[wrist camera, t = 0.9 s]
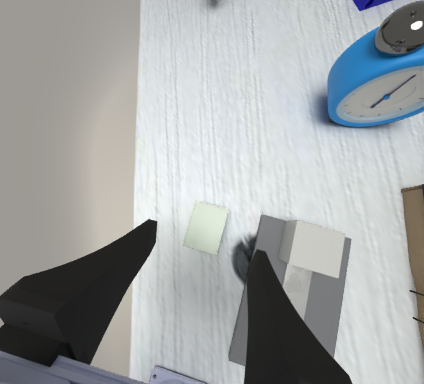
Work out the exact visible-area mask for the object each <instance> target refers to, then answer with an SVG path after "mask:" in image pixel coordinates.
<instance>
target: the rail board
mask: <svg viewBox="0 0 424 384" xmlns="http://www.w3.org/2000/svg"><path fill="white" fill-rule="evenodd" d="M285 224H286V221H284V220H281V219H277V218H273V217H270V216H266V215H261V219H260V223H259V227H258V232H257V236H256V240H255V245H254V249H253V253H252V257H251V260H252V258H253V256H254V254H255V252H256V250H257V249H259V250H262V251H266V253H267V256H268V258H269V260H270V262H271V265H272V267H273V269H274V271H275V273H276V275H277V277H278V279H279V281H280V283H281V285H282V287H283V289H284V291H285V293H286V294H287V296H288V298H289V300H290V301H291V303H292V304H293V306H294V308H295V309H296V311H297V312H298V314H299V315H300V317H301V318H302V320H303V321H304V322H305V324H306V325H307V326H308V328H309V329H310V330H311V332H312V333H313V334H314V336H315V337H316V338H317V339H318V341H319V342H320V343H321V344H322V346H323V347H324V348H325V349H326V350H327V352H328V353H329V354H330V355H331V356H332V357H333V359H334V353H335V346H336V340H337V333H338V326H339V320H340V313H341V306H342V299H343V293H344V286H345V279H346V272H347V266H348V259H349V252H350V245H351V239H350V238H347V237H345V240H344V246H343V253H342V259H341V266H340V272H339V278H335V277H332V276H328V275H325V274H321V273H318V272H315V271H311V270H308V269H304V268H301V267H297V266H294V265H291V264H288V263H286V262H284V261H282V260H281V259H279V258H278V257H279V252H280V247H281V243H282V238H283V233H284V228H285ZM250 263H251V262H250ZM247 336H248V304H247V279H246V283H245V287H244V292H243V296H242V300H241V304H240V309H239V313H238V317H237V322H236V326H235V330H234V334H233V339H232V343H231V347H230V352H229V361H232V362H235V363H238V364H241V365H244V366H246V353H247Z"/></svg>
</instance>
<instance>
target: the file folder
mask: <svg viewBox="0 0 424 384" xmlns="http://www.w3.org/2000/svg"><path fill="white" fill-rule="evenodd" d="M401 192H403V202H404V215H405V223H406V230H407V238H408V252H409V262H410V267H411V271H412V275H413V279H414V284H415V288H416V292H415V291H412V290H410V291H411V292H414V293H416V295H417V305H418V319H416V318H414V317H413V319H415V320H417V321H419V329H420V334H421V339H422V344H423V348H424V184H422V185H419V186H414V187H410V188H406V189H405V188H404V189H401Z"/></svg>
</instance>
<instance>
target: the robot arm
mask: <svg viewBox="0 0 424 384" xmlns="http://www.w3.org/2000/svg"><path fill="white" fill-rule="evenodd" d="M156 232H157V221H154V220H150V219H148V220H147V221H145V222H144V223H142V224H141V225H139V226H138V227H136V228H135V229H134V230H132V231H130V232H129V233H127V234H126V235H124V236H123V237H121V238H119V239H118V240H116V241H114V242H112V243H111V244H109V245H107V246H105V247H103V248H101V249H99V250H97V251H95V252H93V253H91V254H89V255H86V256H84V257H82V258H79V259H77V260H74V261H72V262H69V263H66V264H64V265H61V266H58V267H55V268H52V269H49V270H46V271H42V272H39V273H35V274H32V275H29V276H25V277H23V278H22V279H20V280H19V281H18V282H17V283H15V284H14V285H13V286H11V287H10V288H9V289H8V290H7V291H6V292H4V293H3V294H2V295H1V296H0V318H1V319H2V321H3V322H4V323H5V324H4V325H3V326H2V327H1V328H0V384H146V383H143V382H140V381H137V380H134V379H131V378H128V377H124V376H122V375H119V374H115V373H112V372H109V371H106V370H103V369H100V368H97V367H94V366H91V365H90V363H91V361H92V359H93V357H94V355H95V353H96V351H97V348H98V346H99V344H100V342H101V340H102V338H103V335H104V333H105V331H106V330H107V328H108V326H109V324H110V321H111V319H112V317H113V316H114V314H115V312H116V310H117V308H118V306H119V304H120V302H121V300H122V298H123V296H124V294H125V293H126V291H127V289H128V287H129V286H130V284H131V282H132V281H133V279H134V278H135V276H136V275H137V273H138V272H139V270H140V269H141V267H142V266H143V264H144V263H145V261H146V260H147V258H148V256H149V255H150V253H151V251H152V249H153V247H154V245H155V243H156ZM247 304H248V336H247V353H246V366H245V378H244V384H352V382H351V379H350V377H349V375H348V374H347V373H346V372H345V371H344V370H343V369H342V367H341V366H340V365H339V364H338V363H337V362H336V361H335V360H334V359H333V357H332V356H331V355H330V354H329V353H328V352H327V350H326V349H325V348H324V347H323V346H322V344H321V343H320V342H319V341H318V339H317V338H316V337H315V336H314V334H313V333H312V332H311V330H310V329H309V328H308V326H307V325H306V324H305V322H304V321H303V320H302V318H301V317H300V315H299V314H298V312H297V311H296V309H295V308H294V306H293V304H292V303H291V301H290V300H289V298H288V296H287V294H286V293H285V291H284V289H283V287H282V285H281V283H280V281H279V279H278V277H277V275H276V273H275V271H274V269H273V267H272V265H271V262H270V260H269V258H268V256H267V253H266V251H262V250H259V249H257V250H256V252H255V254H254V256H253V258H252V260H251V263H250V265H249V267H248V273H247ZM154 374H155V375H156V376H154ZM149 384H205V383H202V382H199V381H197V380H194V379H191V378H188V377H186V376H183V375H180V374H177V373H174V372H172V371H169V370H166V369H163V368H161V367H158V366H156V367H154V369H153V371H152V374H151V378H150V381H149Z"/></svg>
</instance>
